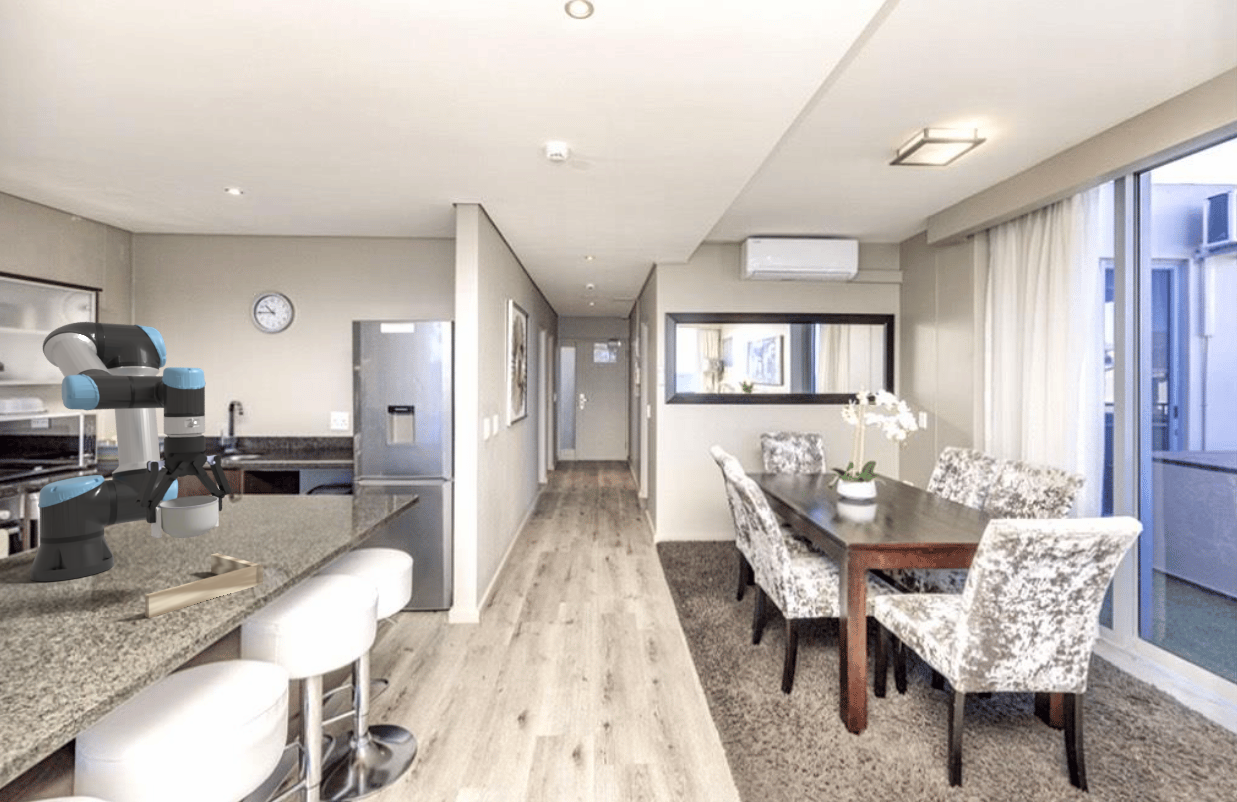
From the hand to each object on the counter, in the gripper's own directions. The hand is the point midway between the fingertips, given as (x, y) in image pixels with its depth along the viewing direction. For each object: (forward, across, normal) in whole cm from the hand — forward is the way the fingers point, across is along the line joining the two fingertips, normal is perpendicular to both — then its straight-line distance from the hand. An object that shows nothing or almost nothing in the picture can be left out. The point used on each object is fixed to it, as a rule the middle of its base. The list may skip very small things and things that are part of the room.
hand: (186, 531), depth 129 cm
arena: (+14, -1, -1) cm, 14 cm away
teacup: (+1, 0, 0) cm, 1 cm away
